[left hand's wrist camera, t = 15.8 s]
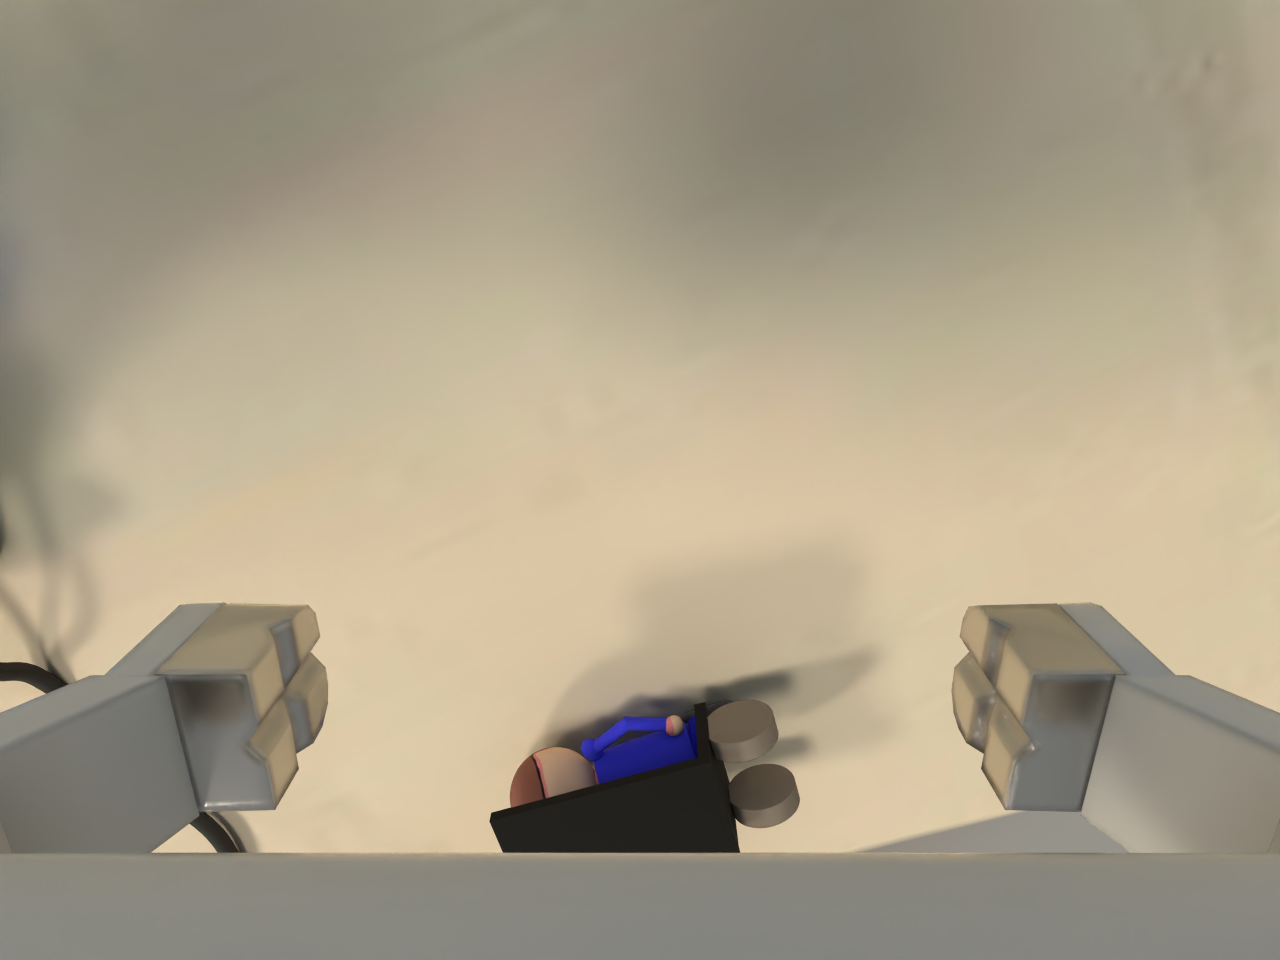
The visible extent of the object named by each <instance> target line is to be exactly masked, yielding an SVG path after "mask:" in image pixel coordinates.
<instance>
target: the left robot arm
mask: <svg viewBox="0 0 1280 960" xmlns="http://www.w3.org/2000/svg"><path fill="white" fill-rule="evenodd" d="M319 638H320V633H319V628H318V623H317V618H316V613H315V612H314V611H313V610H312V609H311V608H310V607H309V606H308V605H282V604H226V603H193V604H184V605H179V606H178V607H177V608H176V609H175V610H174V611H173V612H172V613H171V614H170V615H169V616H167V617H166V618H165V619H164V620H163V621H162V622H161V623H160V624H159V625H158V626H157V627H156V628H155V629H153V630H152V631H151V632H150V633H149V634H148V635H147V636H146V637H145V638H144V639H143V640H142V641H141V642H139V643H138V644H137V645H136V646H135V647H134V648H133V649H132V650H131V651H130V652H129V653H128V654H127V655H125V656H124V657H123V658H122V659H121V660H120V661H119V662H118V663H117V664H116V665H115V666H114V667H113V668H112V669H110V670H109V671H108V672H107V673H106V674H105V675H90V676H88V677H86V678H83V679H81V680H78V681H76V682H74V683H71V684H69V685H67V684H65V683H64V682H62V681H61V680H60V679H58V678H57V677H55V676H54V675H52V674H51V673H49V672H47V671H46V670H44V669H42V668H40V667H38V666H35V665H32V664H28V663H22V662H10V663H1V662H0V681H22V682H26V683H28V684H31V685H33V686H34V687H36V688H38V689H39V690H41V691H43V692H44V693H46V694H45V695H42V696H40V697H38V698H35V699H33V700H30V701H28V702H26V703H23V704H21V705H18V706H16V707H13V708H11V709H9V710H6V711H4V712H1V713H0V960H1280V713H1278V712H1276V711H1273V710H1271V709H1269V708H1266V707H1264V706H1261V705H1259V704H1257V703H1254V702H1252V701H1250V700H1247V699H1245V698H1242V697H1240V696H1238V695H1235V694H1233V693H1230V692H1228V691H1226V690H1223V689H1221V688H1218V687H1216V686H1214V685H1211V684H1209V683H1206V682H1204V681H1202V680H1199V679H1197V678H1194V677H1192V676H1190V675H1175V674H1174V673H1173V672H1172V671H1171V670H1170V669H1169V668H1167V667H1166V666H1165V665H1164V664H1163V663H1162V662H1161V661H1160V660H1159V659H1158V658H1157V657H1156V656H1155V655H1154V654H1152V653H1151V652H1150V651H1149V650H1148V649H1147V648H1146V647H1145V646H1144V645H1143V644H1142V643H1141V642H1140V641H1139V640H1137V639H1136V638H1135V637H1134V636H1133V635H1132V634H1131V633H1130V632H1129V631H1128V630H1127V629H1126V628H1125V627H1124V626H1122V625H1121V624H1120V623H1119V622H1118V621H1117V620H1116V619H1115V618H1114V617H1113V616H1112V615H1111V614H1110V613H1108V612H1107V611H1106V610H1105V609H1104V608H1103V607H1102V606H1100V605H1097V604H1094V603H1067V604H1019V605H978V606H971V607H968V609H967V611H966V613H965V615H964V617H963V621H962V627H961V632H960V638H961V639H962V641H963V642H964V644H965V645H966V647H967V649H968V650H969V653H968V654H967V655H966V656H965V657H964V658H963V659H962V660H961V661H960V662H959V663H958V664H957V665H956V666H955V668H954V676H953V683H952V700H953V711H954V715H955V718H956V722H957V725H958V728H959V730H960V732H961V734H962V736H963V737H964V739H965V741H966V743H967V744H969V745H971V746H972V747H974V748H975V749H977V750H979V751H980V752H982V753H983V754H984V756H983V762H982V767H981V769H982V771H983V773H984V774H985V776H986V778H987V780H988V781H989V783H990V785H991V786H992V788H993V790H994V792H995V793H996V795H997V797H998V798H999V800H1000V802H1001V804H1002V805H1003V807H1004V809H1005V810H1027V811H1063V812H1081V816H1082V817H1083V818H1085V819H1086V820H1087V821H1089V822H1090V823H1091V824H1093V825H1094V826H1095V827H1097V828H1098V829H1099V830H1100V831H1102V832H1103V833H1104V834H1106V835H1107V836H1108V837H1110V838H1111V839H1112V840H1114V841H1115V842H1116V843H1118V844H1119V845H1120V846H1122V847H1123V848H1124V849H1126V850H1127V851H1128V852H1129V853H239V852H238V850H237V849H236V847H235V845H234V843H233V842H232V840H231V839H230V837H229V836H228V834H227V833H226V832H225V831H224V830H223V828H222V827H221V826H220V825H219V824H218V823H217V822H216V821H215V820H214V819H213V818H211V817H210V816H209V815H208V814H207V813H206V812H216V811H251V810H275V809H276V807H277V805H278V804H279V802H280V800H281V799H282V797H283V795H284V793H285V792H286V790H287V788H288V786H289V785H290V783H291V781H292V780H293V778H294V776H295V774H296V773H297V771H298V769H299V767H298V762H297V756H296V754H297V753H298V752H300V751H301V750H303V749H305V748H306V747H308V746H309V745H311V744H313V743H314V741H315V739H316V737H317V735H318V734H319V732H320V730H321V728H322V726H323V722H324V717H325V713H326V709H327V705H328V681H327V674H326V668H325V666H324V665H323V664H322V663H321V662H320V661H319V660H318V659H317V658H316V657H315V656H314V655H313V654H312V653H311V650H312V649H313V647H314V645H315V644H316V642H317V641H318V639H319ZM189 823H190V824H191V825H192V826H193V827H195V828H196V829H197V830H198V831H199V832H201V833H202V834H203V835H204V836H205V837H206V838H207V839H208V841H209V842H210V843H211V844H212V845H213V847H214V848H215V850H216V851H217V852H218V853H151V852H152V851H153V850H155V849H156V848H157V847H159V846H160V845H161V844H163V843H164V842H165V841H167V840H168V839H169V838H171V837H172V836H173V835H175V834H176V833H177V832H179V831H180V830H181V829H182V828H184V827H185V826H186V825H188V824H189Z"/></svg>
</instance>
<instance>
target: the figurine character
mask: <svg viewBox="0 0 1280 960" xmlns="http://www.w3.org/2000/svg"><path fill="white" fill-rule="evenodd" d="M694 707H695V710H692V711H689V712H686V713H685V714H684V715H683V716H682V717H681V718H680V717H678V716H676V715H672V716H669V717H668V718H656V717H627V716H625V717H624V718H623V719H621V720H620V721H619V722H618V723H616V724H615V725H614V726H612V727H611V728H610V729H609V730H607V731H606V732H605V733H603V734H602V735H601V736H600V737H598V738H597V739H596V740H595V739H591V738H589V739H586V740H584V741H583V742H582V744H581V751H582V754H583V755H584V756H585V757H586V758H587V759H588V760H591V761H594V765H595V771H594V769H593V768H592V766H591V765H590V763H589V762H588V761H587V760H586V759H585V758H584V757H583V756H581V755H580V754H579V753H577V752H575V751H573V750H570V749H567V748H563V747H550V748H545V749H542V750H540V751H537V752H535V753H534V754H532V755H531V756H529V757H528V758H527V759H526V760H525V761H524V762H523V763H522V764H521V766H520V767H519V768H518V770H517V772H516V774H515V776H514V778H513V781H512V785H511V790H510V804H511V808H508V809H504V810H500V811H496V812H493V813H491V817H490V823H491V826H492V828H493V830H494V833H495V835H496V837H497V840H498V842H499V844H500V847H501V849H502V851H503V853H740V850H739V846H738V837H737V829H736V821H735V818H736V819H737V821H739V822H740V823H741V824H743V825H745V826H748V827H752V828H767V827H772V826H775V825H778V824H780V823H782V822H784V821H786V820H787V819H789V818H790V817H791V816H792V815H793V814H794V813H795V812H796V810H797V808H798V806H799V802H800V797H799V793H798V790H797V786H796V782H795V779H794V776H793V774H792V773H791V772H790V771H789V770H788V769H787V768H785V767H783V766H780V765H775V764H761V765H756V766H753V767H750V768H747V769H745V770H743V771H742V772H740V773H739V774H737V775H736V776H735V777H734V778H733V779H732V781H731V782H729V779H728V776H727V772H726V769H725V766H724V763H723V761H724V762H731V763H738V762H745V761H750V760H753V759H755V758H758V757H760V756H762V755H764V754H765V753H767V752H768V751H769V750H770V749H771V748H772V747H773V746H774V745H775V743H776V742H777V739H778V730H777V726H776V722H775V719H774V715H773V712H772V710H771V708H770V707H769V706H768V705H767V704H765V703H763V702H760V701H755V700H741V701H729V700H722V701H719V702H716V703H713V704H710V705H707V706H706V704H705V703H701V704H696V705H694ZM683 722H684V723H683ZM685 722H688V728H687V725H686V723H685ZM688 729H689V730H688ZM629 730H636V731H657V732H654V733H651V734H648V735H645V736H642V737H639V738H636V739H633V740H630V741H627V742H624V743H621V744H618V745H615V746H612V747H609V748H607V747H608V746H610V745H611V744H612V743H613V742H615V741H616V740H617V739H619V738H620V737H621V736H622V735H624V734H625V733H626V732H628V731H629Z"/></svg>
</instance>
